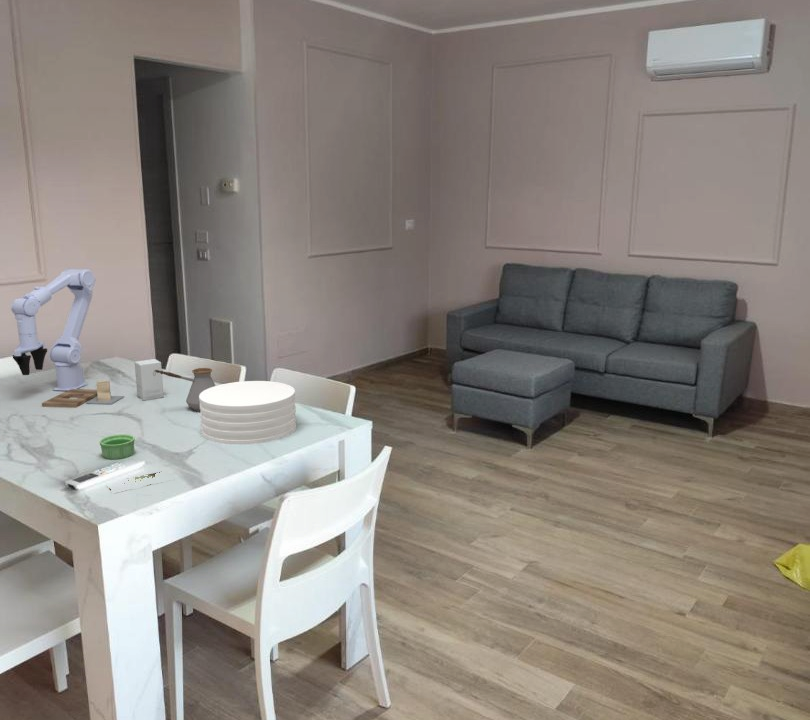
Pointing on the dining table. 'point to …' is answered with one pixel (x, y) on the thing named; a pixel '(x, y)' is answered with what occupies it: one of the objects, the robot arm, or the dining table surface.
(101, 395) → the beech block
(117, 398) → the slate rubber mat
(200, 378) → the coffee pot
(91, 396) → the walnut pocket board
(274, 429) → the plate stack
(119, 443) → the ramekin
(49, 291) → the robot arm
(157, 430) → the dining table surface
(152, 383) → the supplement box
